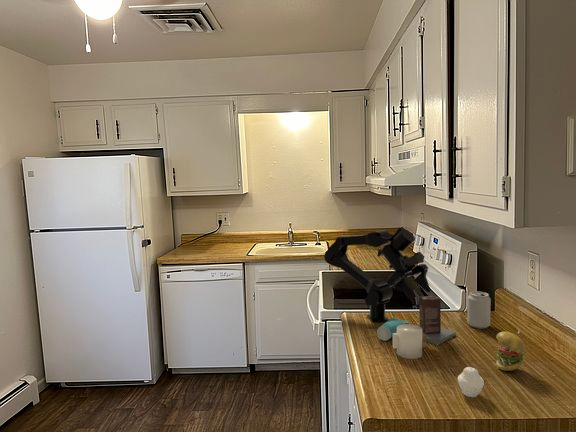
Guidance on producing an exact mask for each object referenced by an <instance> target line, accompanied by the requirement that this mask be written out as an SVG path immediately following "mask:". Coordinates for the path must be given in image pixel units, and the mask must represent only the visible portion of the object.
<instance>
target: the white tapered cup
mask: <svg viewBox="0 0 576 432" xmlns="http://www.w3.org/2000/svg"><path fill="white" fill-rule="evenodd" d="M392 348H393V349H394V350H395V349H396V354H397V356H399V357H401V358H403V359H408V360H409V359H410V360H414V359H415V360H416V359H420V358H421V357H422V356H423V348H422V328H421V327H419V326H418V325H417V324H416V325H415V324H412V323H411V324H410V323H409V324H402V325H399V326H397V333H393V337H392Z"/></svg>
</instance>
